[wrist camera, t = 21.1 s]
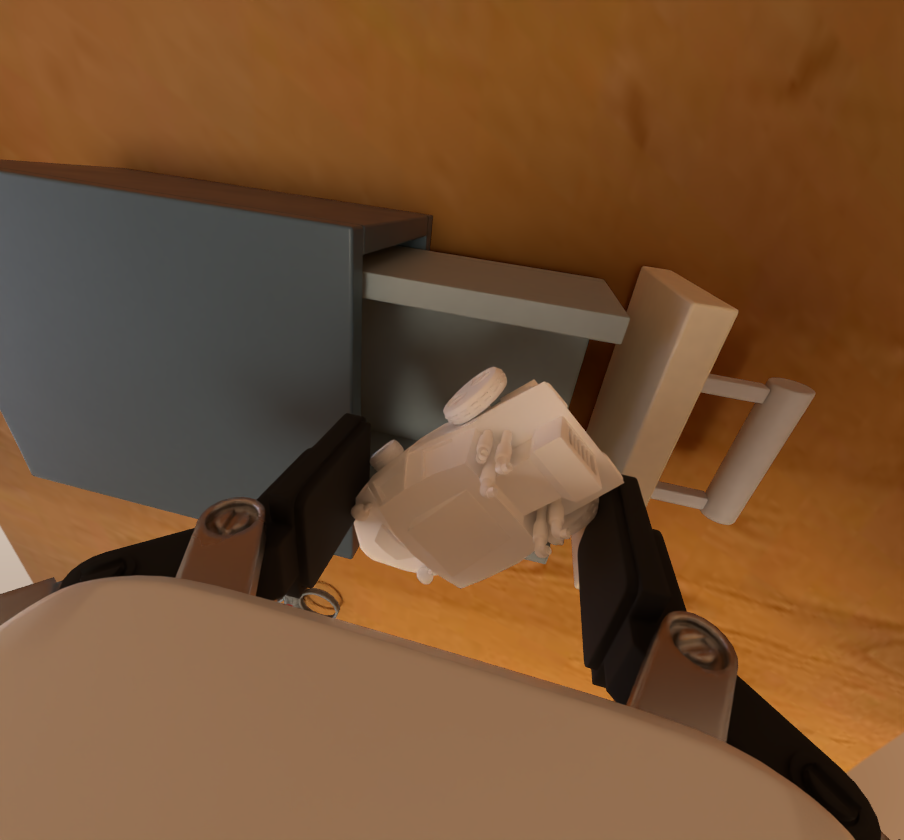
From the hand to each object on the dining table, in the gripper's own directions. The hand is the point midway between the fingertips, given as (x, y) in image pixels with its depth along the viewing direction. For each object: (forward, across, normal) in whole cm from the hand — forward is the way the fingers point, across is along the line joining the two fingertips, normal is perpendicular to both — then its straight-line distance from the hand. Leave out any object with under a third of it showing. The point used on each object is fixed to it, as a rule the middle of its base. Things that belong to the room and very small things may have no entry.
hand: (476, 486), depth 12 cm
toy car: (+1, 0, 0) cm, 1 cm away
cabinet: (+10, +12, 0) cm, 16 cm away
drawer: (+9, -1, 0) cm, 9 cm away
